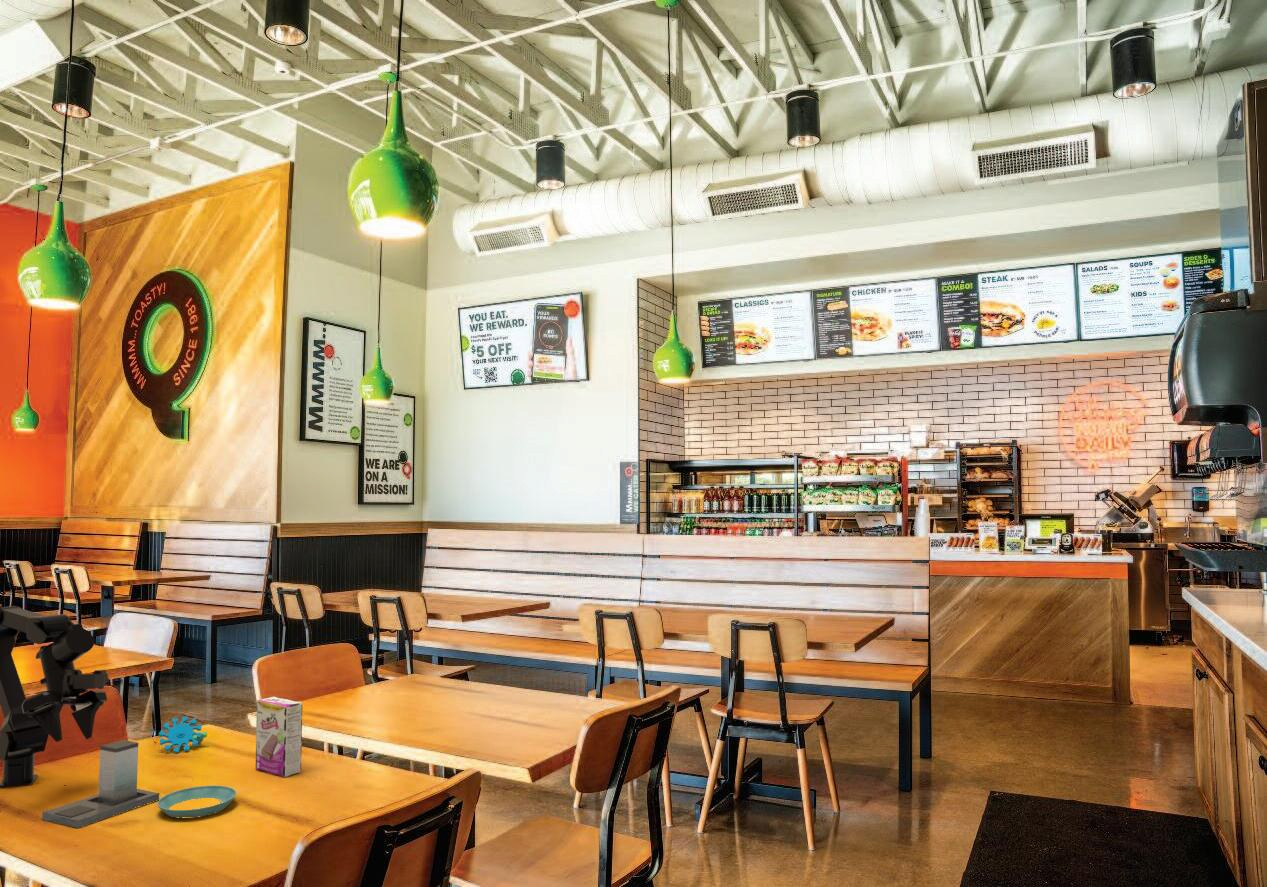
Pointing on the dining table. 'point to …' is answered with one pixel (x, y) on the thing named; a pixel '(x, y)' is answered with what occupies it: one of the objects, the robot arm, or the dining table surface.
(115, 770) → the grey tall block
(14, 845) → the dining table surface
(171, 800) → the saucer
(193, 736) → the gear
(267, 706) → the candy bar box
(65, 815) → the grey slotted plate
